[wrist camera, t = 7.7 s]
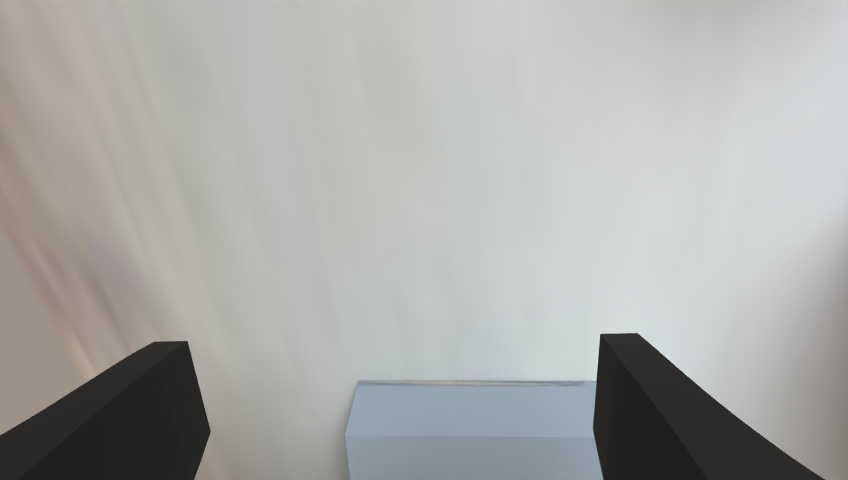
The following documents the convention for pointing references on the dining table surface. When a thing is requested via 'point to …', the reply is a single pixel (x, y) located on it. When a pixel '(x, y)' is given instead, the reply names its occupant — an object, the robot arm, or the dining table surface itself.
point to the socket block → (472, 431)
